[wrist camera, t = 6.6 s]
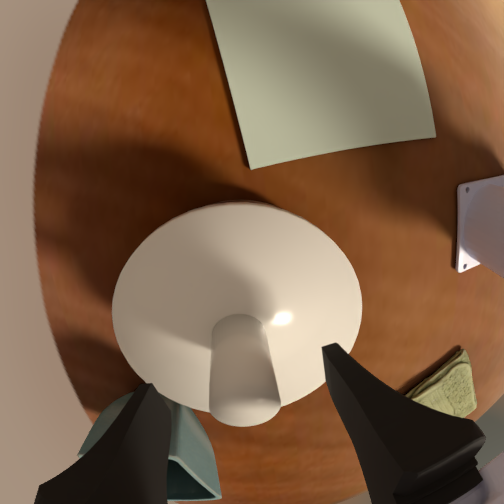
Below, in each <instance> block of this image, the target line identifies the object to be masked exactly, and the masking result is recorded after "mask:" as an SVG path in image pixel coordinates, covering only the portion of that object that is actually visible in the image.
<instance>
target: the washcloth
mask: <svg viewBox="0 0 504 504" xmlns="http://www.w3.org/2000/svg"><path fill="white" fill-rule="evenodd" d="M472 378H473V377H472V369H471V363H470V361H469V356H468V354H467V352H466V350H465V349H461V350H460V351H459V352H458V351H457V352H456V353H455V355H454V356H452V357H451V358H450V359H449V360H448V361H447V362H446V363H445V364H444V365H442V366H441V367H440V368H439V369H438V370H437V371H436V372H435V373H434V374H433V375H431V376H430V377H428V378H426V379H424V381H423V382H421V383H420V384H419V385H417V386H416V387H415V388H414V389H412V390H411V391H410V392H409V393H408V394H406V395H405V396H406V397H408V398H410V399H412V400H414V401H416V402H418V403H420V404H423V405H425V406H427V407H430V408H432V409H435V410H437V411H440V412H443V413H446V414H449V415H453V416H457V417H461V418H464V417H465V416H467V415H468V414H469V413H471V412H472V411H473V410H474V409H475V408H476V404H477V399H476V397H475V392H474V385H473V381H472Z"/></svg>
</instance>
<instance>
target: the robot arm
mask: <svg viewBox="0 0 504 504" xmlns="http://www.w3.org/2000/svg"><path fill="white" fill-rule="evenodd" d="M457 198H458V235H457V256H456V271H457V272H459V273H461V272H463V271H465V270H468V269H470V268H472V267H474V266H477V265H479V264H482V265H484V266H486V267H487V268H489V269H490V270H492V271H493V272H495V273H496V274H498V275H500V276H501V277H503V278H504V175H501V176H496V177H491V178H487V179H482V180H477V181H473V182H468V183H464V184H460V185H459V186H458V188H457ZM321 348H322V356H323V364H324V372H325V380H326V383H327V386H328V389H329V392H330V395H331V398H332V400H333V402H334V405H335V407H336V409H337V411H338V413H339V415H340V417H341V419H342V421H343V423H344V425H345V428H346V430H347V432H348V434H349V436H350V438H351V440H352V443H353V445H354V447H355V450H356V453H357V456H358V459H359V462H360V465H361V468H362V471H363V475H364V478H365V481H366V484H367V488H368V491H369V495H370V498H371V502H372V504H504V451H503V452H502V453H501V454H499V455H498V456H497V457H496V458H494V459H493V460H492V461H490V462H489V463H488V464H486V465H485V466H484V467H483V468H481V469H480V470H479V471H478V470H477V468H476V465H477V464H478V462H477V460H476V459H475V455H476V454H477V453H478V451H479V450H480V449H481V447H482V446H483V444H484V443H485V440H486V436H485V435H484V433H483V432H482V430H481V429H480V428H479V427H478V426H477V424H476V423H475V422H474V421H473V420H470V419H465V418H461V417H457V416H453V415H449V414H446V413H443V412H440V411H437V410H435V409H432V408H430V407H427V406H425V405H423V404H420V403H418V402H416V401H414V400H412V399H410V398H408V397H406V396H404V395H402V394H401V393H399V392H397V391H395V390H394V389H392V388H391V387H389V386H388V385H386V384H385V383H383V382H382V381H380V380H379V379H378V378H376V377H375V376H374V375H372V374H371V373H370V372H369V371H367V370H366V369H365V368H364V367H362V366H361V365H360V364H359V363H358V362H357V361H356V360H354V359H353V358H352V357H351V356H350V355H349V354H348V353H347V352H346V351H345V350H344V349H343V348H342V347H341V346H340V345H339V344H338V343H336V342H335V343H332V344H329V345H326V346H322V347H321ZM171 432H172V420H171V410H170V409H169V407H168V406H167V404H166V403H165V402H164V400H163V399H162V397H161V396H160V394H159V393H158V391H157V390H156V388H155V386H154V385H153V383H147V384H140V385H139V386H138V388H137V389H136V390H135V392H134V393H133V395H132V396H131V398H130V399H129V400H128V402H127V403H126V405H125V406H124V408H123V409H122V410H121V412H120V413H119V415H118V416H117V417H116V419H115V420H114V422H113V423H112V424H111V425H110V427H109V428H108V429H107V430H106V432H105V433H104V434H103V436H102V437H101V438H100V439H99V440H98V441H97V442H96V443H95V444H94V446H93V447H92V448H91V449H90V450H89V451H88V452H87V453H86V454H84V455H83V456H82V457H81V458H80V459H79V460H78V461H77V462H76V463H74V464H73V465H72V466H70V467H69V468H68V469H66V470H65V471H63V472H62V473H60V474H59V475H57V476H56V477H54V478H52V479H51V480H49V481H47V482H45V483H43V484H41V485H39V488H38V492H37V495H36V499H35V502H34V504H168V503H167V482H166V479H167V466H168V458H169V449H170V441H171Z"/></svg>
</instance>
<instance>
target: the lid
mask: <svg viewBox="0 0 504 504" xmlns="http://www.w3.org/2000/svg"><path fill="white" fill-rule="evenodd" d="M361 315H362V298H361V291H360V287H359V282H358V279H357V277H356V274H355V272H354V269H353V267H352V266H351V264H350V262H349V261H348V259H347V257H346V256H345V254H344V253H343V252H342V251H341V250H340V248H339V247H338V246H337V245H336V244H335V242H333V241H332V240H331V239H330V238H329V237H328V236H327V235H326V234H325V233H324V232H322V231H321V230H320V229H319V228H318V227H317V226H315V225H313V224H312V223H310V222H309V221H307V220H305V219H304V218H302V217H300V216H298V215H296V214H293V213H291V212H289V211H287V210H284V209H280V208H277V207H273V206H269V205H264V204H257V203H249V202H228V203H220V204H213V205H208V206H204V207H201V208H197V209H194V210H190V211H188V212H186V213H183V214H181V215H179V216H177V217H174V218H173V219H171V220H169V221H168V222H166V223H165V224H163V225H161V226H160V227H158V228H157V229H156V230H155V231H154V232H152V233H151V234H150V235H149V236H148V237H147V238H145V240H144V241H143V242H142V243H141V244H140V245H139V247H138V248H137V249H136V250H135V251H134V253H133V254H132V255H131V257H130V258H129V260H128V261H127V263H126V265H125V266H124V268H123V270H122V271H121V274H120V276H119V279H118V281H117V284H116V287H115V291H114V296H113V303H112V319H113V328H114V331H115V335H116V339H117V342H118V344H119V346H120V349H121V351H122V353H123V355H124V356H125V358H126V360H127V361H128V363H129V364H130V366H131V367H132V368H133V369H134V371H135V372H136V373H137V374H138V375H139V376H140V377H141V378H142V379H143V380H144V381H145V382H146V383H153V385H154V386H155V388H156V390H157V391H158V392H159V393H161V394H162V395H164V396H166V397H167V398H169V399H171V400H173V401H175V402H177V403H179V404H182V405H185V406H188V407H190V408H193V409H197V410H201V411H205V412H211V414H212V415H213V417H214V418H216V419H217V420H218V421H220V422H222V423H225V424H228V425H232V426H242V427H243V426H253V425H257V424H261V423H263V422H266V421H268V420H269V419H271V418H272V417H274V416H275V415H276V414H277V412H278V411H279V409H280V407H282V406H285V405H287V404H290V403H292V402H294V401H296V400H298V399H300V398H302V397H304V396H306V395H308V394H309V393H311V392H312V391H314V390H315V389H317V388H318V387H319V386H321V385H322V384H323V383H324V382H325V381H326V380H325V372H324V364H323V356H322V348H321V347H322V346H326V345H329V344H332V343H335V342H336V343H338V344H339V345H340V346H341V347H342V348H343V349H344V350H345V351H346V352H347V353H348V354H349V352H350V351H351V349H352V347H353V345H354V342H355V340H356V337H357V335H358V331H359V327H360V323H361Z"/></svg>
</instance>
